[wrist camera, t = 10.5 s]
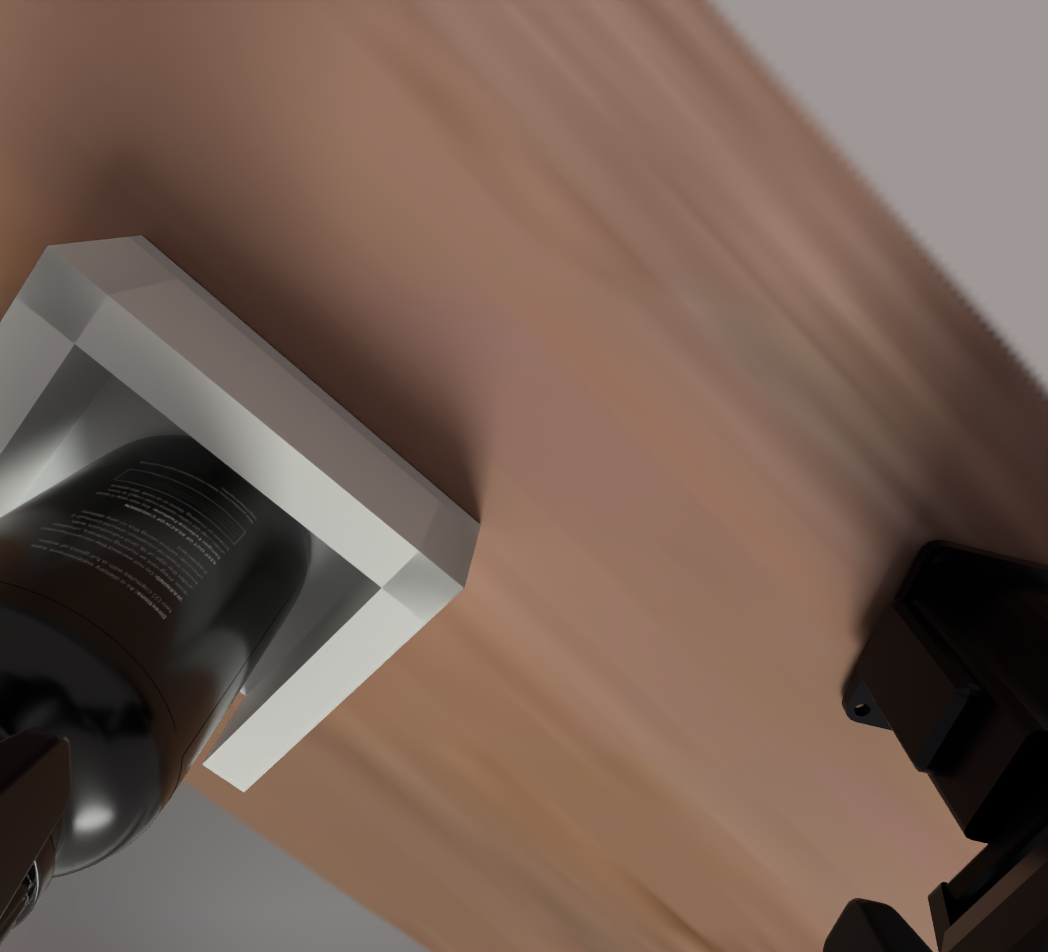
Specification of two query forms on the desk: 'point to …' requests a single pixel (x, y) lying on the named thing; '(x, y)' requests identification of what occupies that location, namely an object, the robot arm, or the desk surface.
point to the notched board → (246, 447)
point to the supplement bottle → (135, 630)
